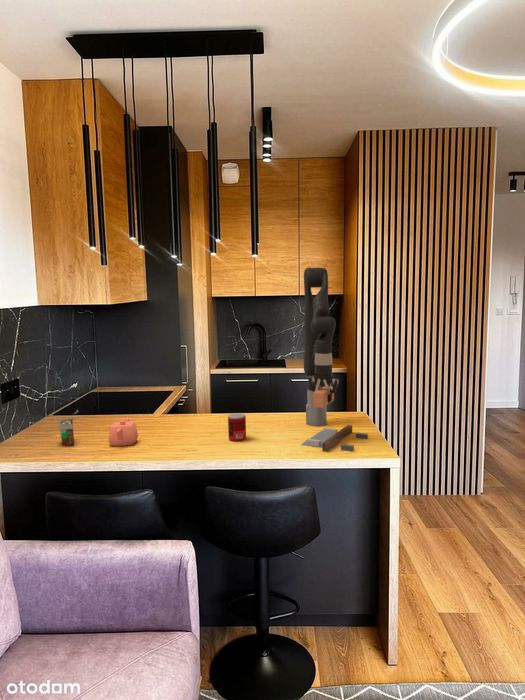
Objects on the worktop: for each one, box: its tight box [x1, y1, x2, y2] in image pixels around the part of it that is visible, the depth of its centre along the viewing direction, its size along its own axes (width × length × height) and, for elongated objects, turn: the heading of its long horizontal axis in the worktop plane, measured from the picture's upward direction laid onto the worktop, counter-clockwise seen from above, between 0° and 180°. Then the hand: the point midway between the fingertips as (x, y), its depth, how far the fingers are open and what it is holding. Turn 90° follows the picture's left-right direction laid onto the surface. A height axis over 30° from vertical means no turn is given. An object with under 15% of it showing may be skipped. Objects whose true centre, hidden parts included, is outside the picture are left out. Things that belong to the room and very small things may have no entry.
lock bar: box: [313, 386, 335, 408], centre depth 223 cm, size 4×14×6 cm, turn 153°
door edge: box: [321, 424, 353, 453], centre depth 222 cm, size 2×30×4 cm, turn 151°
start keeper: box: [340, 431, 369, 452], centre depth 218 cm, size 5×20×2 cm, turn 150°
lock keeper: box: [300, 427, 338, 449], centre depth 226 cm, size 10×22×2 cm, turn 150°
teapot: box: [108, 416, 139, 447], centre depth 227 cm, size 12×18×10 cm, turn 1°
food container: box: [57, 417, 75, 447], centre depth 228 cm, size 12×6×10 cm, turn 21°
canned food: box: [227, 412, 247, 443], centre depth 228 cm, size 8×8×11 cm
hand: (323, 401), depth 224 cm, fingers closed on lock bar, 4 cm apart
